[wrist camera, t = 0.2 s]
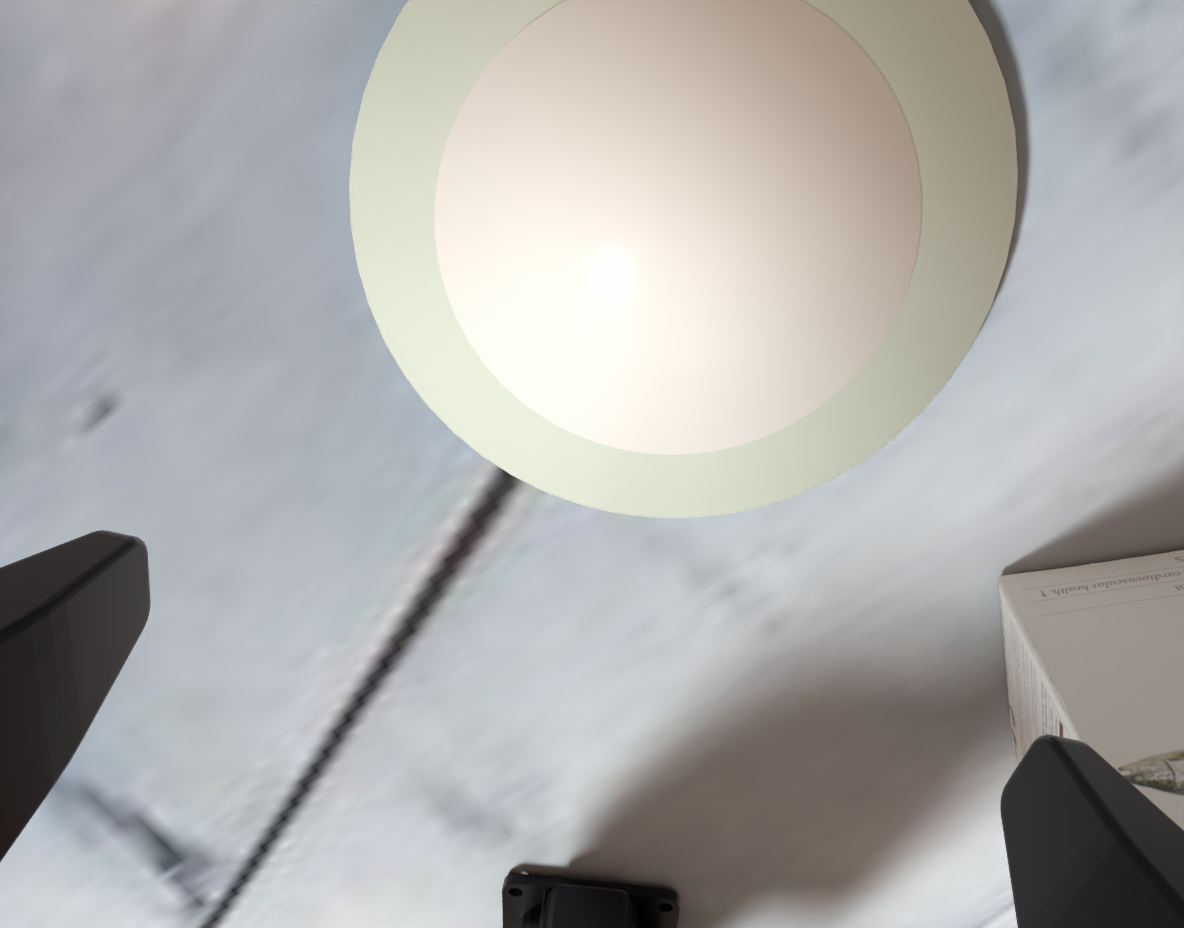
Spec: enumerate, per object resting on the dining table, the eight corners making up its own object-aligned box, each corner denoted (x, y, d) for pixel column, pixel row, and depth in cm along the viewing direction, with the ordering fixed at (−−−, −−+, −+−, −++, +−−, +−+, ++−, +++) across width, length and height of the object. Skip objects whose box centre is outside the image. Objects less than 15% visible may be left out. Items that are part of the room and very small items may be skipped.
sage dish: (926, 530, 24) (930, 540, 24) (382, 488, 25) (377, 497, 25) (1108, -136, 17) (1118, -138, 16) (318, -164, 17) (310, -167, 17)
